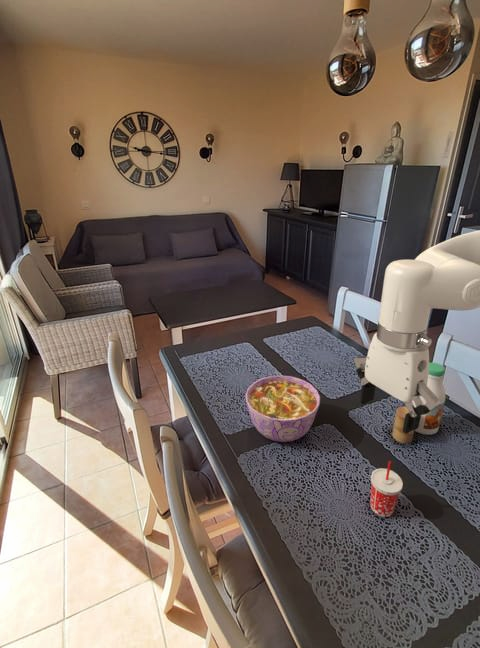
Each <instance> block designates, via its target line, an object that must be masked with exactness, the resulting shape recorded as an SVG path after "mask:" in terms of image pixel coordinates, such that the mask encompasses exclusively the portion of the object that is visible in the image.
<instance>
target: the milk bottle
mask: <svg viewBox="0 0 480 648" xmlns="http://www.w3.org/2000/svg"><path fill="white" fill-rule="evenodd" d="M445 372H446V368H445V367H444V365H442V364H440V363H437V362H429V374H428V382H427V387H428V388H429V389H430V390H431V391H432V392H433V393H434V394H435V396H436V397H437V398H438V399H439V400H440V402H441V404H440V405H439V406H437V407H436V408H435V409H433V410H432V411H431V412H429V413H427V414H424V415H421V418H420V423H419V427H418V428H417V429H416V430H414V432H416V433H419V434H422V435H427V436H428V435H429V436H430V435H434V434H437V433H438V431H439V428H440V424H441V421H442V415H443V411H444V407H445V402H446V389H445V386H444V383H443V382H444V381H443V378H444V377H445V374H446V373H445ZM420 398H421V400H422V402H423V404H424V405H425V404H426V400H425V399H424V398H423V397H422V396H420ZM412 403H413V405H414V407H416V405H415V403H414V400H413V401H412Z"/></svg>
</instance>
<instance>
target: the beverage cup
mask: <svg viewBox="0 0 480 648" xmlns="http://www.w3.org/2000/svg"><path fill="white" fill-rule="evenodd" d="M391 466H392V461H391V460H388V463H387V468H383V467H382V468H375V469H374V470H373V471H372V472H371V475H370V482H371V485H370V502H369V505H370V509H371V510H372V511H373V512H374V513H375V514H376V515H377V516H379V517H382V518H384V517H385V518H388V517H391V516H392V515H393V514H394V511H395V508H396V505H397V502H398V499H399V495H400V493H401V492H402V490H403V484H404V483H403V479H402V478H401V477H400V476H399V474H398V473H397V472H395V471H394V470H391Z"/></svg>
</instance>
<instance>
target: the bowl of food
mask: <svg viewBox="0 0 480 648" xmlns="http://www.w3.org/2000/svg"><path fill="white" fill-rule="evenodd" d="M244 397H245V402H246V407H247V409H248V412H249V416H250V419H251V421H252V423H253V426H254V427H255V429H256V430H257V431H258V433H260V434H261V435H262V436H263V437H265V438H266V439H269V440H271V441H274V442H278V443H279V442H281V443H288V442H289V443H290V442H293V441H296V440H298V439H301V438H302V437H303V436H305V435H306V434H307V433H308V432H309V430H310V429H311V427H312V425H313V423H314V420H315V418H316V416H317V412H318V411H319V407H320V404H321V396H320V394H319V391H318V389H317V388H315V386H313V385H312V384H311V383H309V382H308V381H306V380H304V379H301V378H298V377H296V376H292V375H282V374H281V375H270V376H266V377H262V378H260V379H258V380H256V381H254V382H253V383H252V384H251V385H250V386H249V387H248V388H247V390H246V392H245V396H244Z"/></svg>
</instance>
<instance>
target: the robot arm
mask: <svg viewBox="0 0 480 648" xmlns="http://www.w3.org/2000/svg"><path fill="white" fill-rule="evenodd" d="M381 291H382V293H381V299H380V307H379V314H378V320H377V321H378V322H377V328H376V332H375V333H374V334H373V336H372V338H371V341H370V344H369V347H368V350H367V355H362V356H361V355H360V356H356V357H354V359H353V361H354V362H353V363H354V365H355V368H356V369H355V371H356V374H357V376H358V379H359V381H358V382H359V385H360V386H361V390H360V398H359V399H360V400H359V403H360V404H361V405H365V404H368V403H370V402H372V401H374V398H375V394H376V393H375V392H376V387H377V388H378V389H380V390H382V391H383V392H385V393H387V394H388V395H390V396H391V397H394V398H395V399H397V400H399V401H401V402H403V403H404V405H405V407H407V409H408V412H409V413H407V414H406V415H405V420H404V426H403V432H404V433H406V434H407V433H409V432H410V431H412V430H414V431H415V430H416V429H417V428H418V427H419V423H420V418H421V415H424V414H427V413H429V412H431V411H432V410H433V409H435V408H436V407H437V406H439V405H440V404H441V402H440V400H439V399H438V398H437V397H436V396H435V394H434V393H433V392H432V391H431V390H430V389H429V388H428V387H427V382H428V374H429V363H430V351H429V347H430V346H431V345H432V342H433V340H432V339H431V338H429V337H428V336H427V334H428V325H429V320H430V314H431V310H432V309H439V310H449V311H460V312H462V311H472V310H476V309H479V308H480V230H474V231H471V232H466V233H463V234H460V235H456V236H453V237H451V238H449V239H447V240H443V241H442V242H439V243H437V244H435V245H433V246H431V247H429V248H427V249H425V250H424V251H422V252H421V253H420V254H418V255H417V256H416V257H415V258H414V259H398V260H393V261H392V262H390V263H389V264H388V265H387V266H386V268H385V271H384V278H383V284H382V290H381ZM420 396H422V397H423V398H424V399H425V400H426V404H425V405H424V404H423V402H422V400H421V398H420ZM413 400H414V403H415V405H416V407H414V405H413V403H412V401H413Z"/></svg>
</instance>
